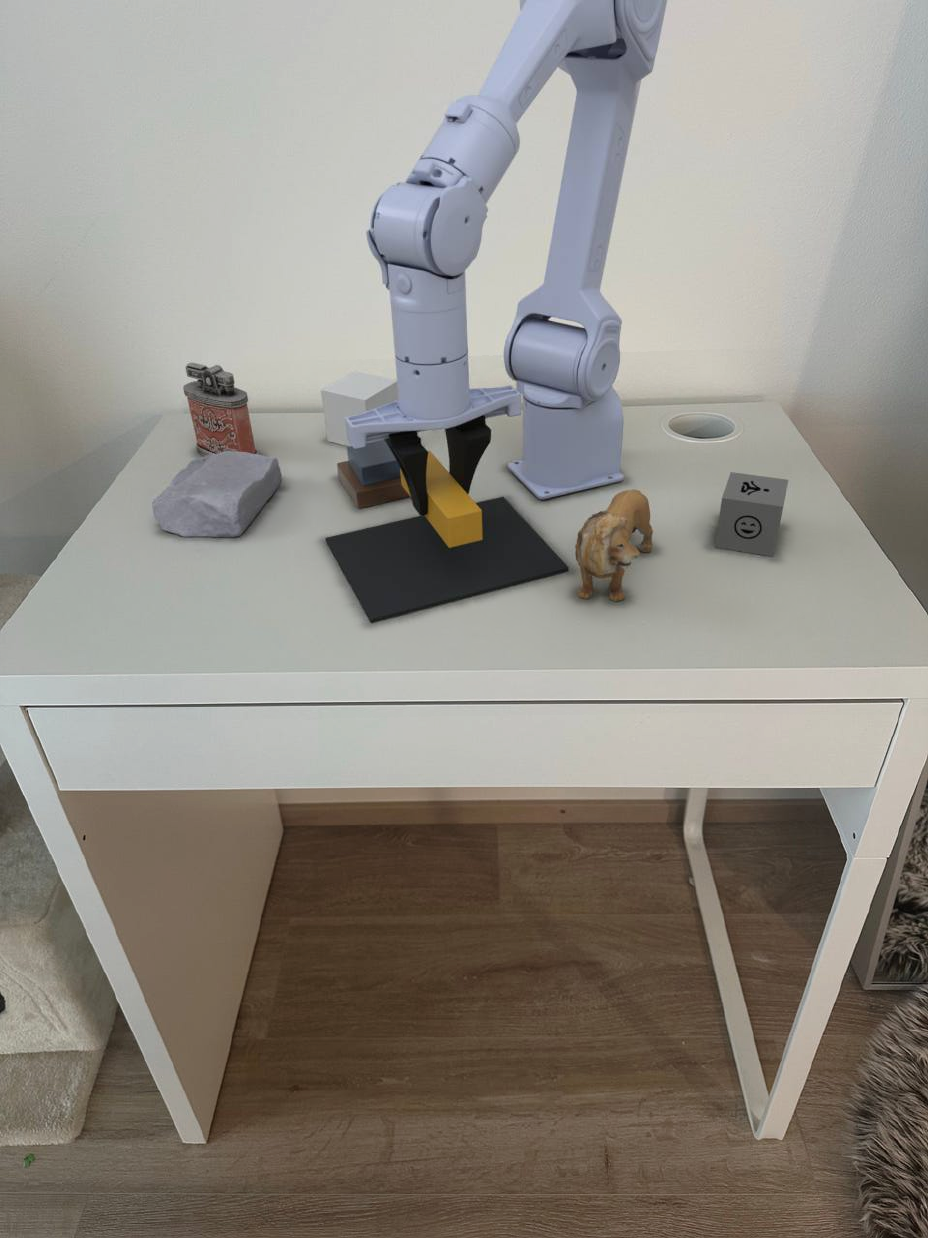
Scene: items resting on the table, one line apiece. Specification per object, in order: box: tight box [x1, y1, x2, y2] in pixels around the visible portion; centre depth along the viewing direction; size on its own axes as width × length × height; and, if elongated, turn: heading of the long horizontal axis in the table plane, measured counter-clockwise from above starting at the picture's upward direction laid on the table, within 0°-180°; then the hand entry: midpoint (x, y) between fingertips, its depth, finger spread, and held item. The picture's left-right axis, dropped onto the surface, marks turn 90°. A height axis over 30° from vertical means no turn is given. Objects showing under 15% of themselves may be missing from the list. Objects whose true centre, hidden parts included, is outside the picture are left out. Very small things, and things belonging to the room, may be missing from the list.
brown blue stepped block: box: [336, 440, 411, 509], centre depth 94 cm, size 7×7×4 cm
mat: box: [325, 496, 570, 624], centre depth 84 cm, size 18×14×1 cm
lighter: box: [182, 362, 259, 457], centre depth 99 cm, size 8×3×10 cm, turn 58°
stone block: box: [151, 451, 282, 538], centre depth 92 cm, size 12×5×10 cm
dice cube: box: [714, 471, 789, 558], centre depth 83 cm, size 5×5×5 cm
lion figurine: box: [574, 488, 654, 602], centre depth 78 cm, size 15×5×9 cm, turn 163°
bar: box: [400, 450, 483, 548], centre depth 80 cm, size 12×3×3 cm, turn 22°
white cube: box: [320, 370, 399, 447], centre depth 103 cm, size 6×6×6 cm
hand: (440, 505), depth 81 cm, fingers closed on bar, 3 cm apart
